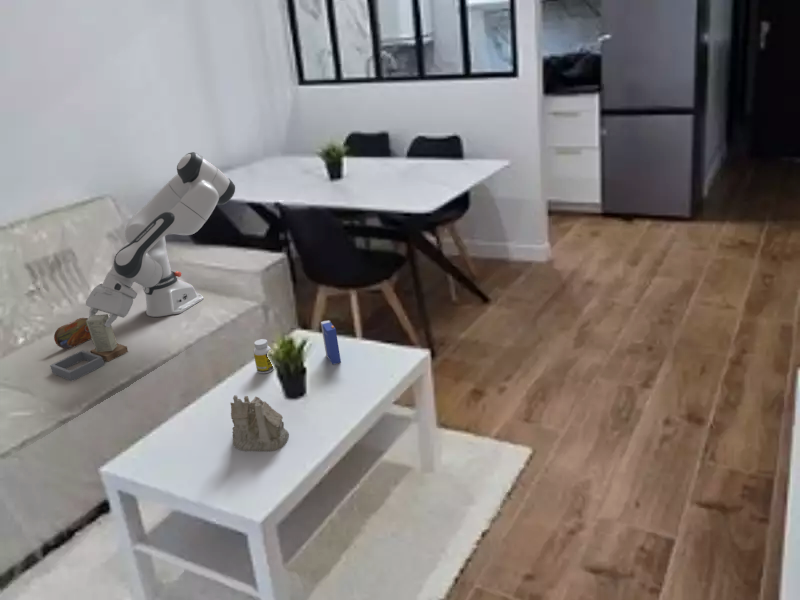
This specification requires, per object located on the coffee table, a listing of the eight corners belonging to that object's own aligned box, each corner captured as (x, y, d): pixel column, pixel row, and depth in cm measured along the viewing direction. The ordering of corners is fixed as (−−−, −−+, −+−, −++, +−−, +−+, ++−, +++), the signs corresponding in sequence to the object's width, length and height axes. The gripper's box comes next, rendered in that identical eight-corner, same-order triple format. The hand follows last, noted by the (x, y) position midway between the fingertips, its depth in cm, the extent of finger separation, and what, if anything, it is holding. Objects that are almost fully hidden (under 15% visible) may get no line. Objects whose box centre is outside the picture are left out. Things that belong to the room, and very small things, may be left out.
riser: (111, 346, 262) (110, 341, 261) (128, 351, 256) (126, 346, 256) (91, 355, 256) (89, 350, 256) (108, 361, 251) (106, 356, 250)
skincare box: (118, 345, 257) (108, 313, 252) (112, 351, 253) (102, 319, 248) (101, 346, 258) (91, 314, 253) (95, 352, 254) (85, 320, 249)
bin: (84, 357, 256) (82, 350, 254) (104, 364, 249) (102, 356, 248) (52, 373, 247) (49, 365, 246) (72, 381, 240) (69, 372, 239)
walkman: (341, 362, 231) (335, 327, 227) (332, 364, 231) (326, 329, 226) (334, 352, 238) (328, 318, 234) (325, 354, 238) (320, 320, 233)
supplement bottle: (271, 374, 229) (265, 345, 226) (254, 374, 231) (248, 346, 227) (277, 365, 234) (271, 337, 230) (261, 365, 235) (255, 338, 232)
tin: (61, 352, 262) (54, 331, 259) (56, 351, 264) (49, 329, 260) (99, 335, 273) (92, 314, 269) (94, 334, 274) (88, 313, 271)
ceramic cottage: (277, 454, 188) (266, 401, 184) (221, 450, 194) (209, 398, 189) (304, 424, 202) (294, 374, 197) (251, 421, 208) (241, 372, 203)
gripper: (91, 278, 258) (73, 315, 255) (125, 287, 246) (107, 326, 243) (106, 286, 263) (88, 321, 260) (140, 295, 251) (122, 332, 248)
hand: (98, 324), depth 252 cm, fingers open, 8 cm apart
